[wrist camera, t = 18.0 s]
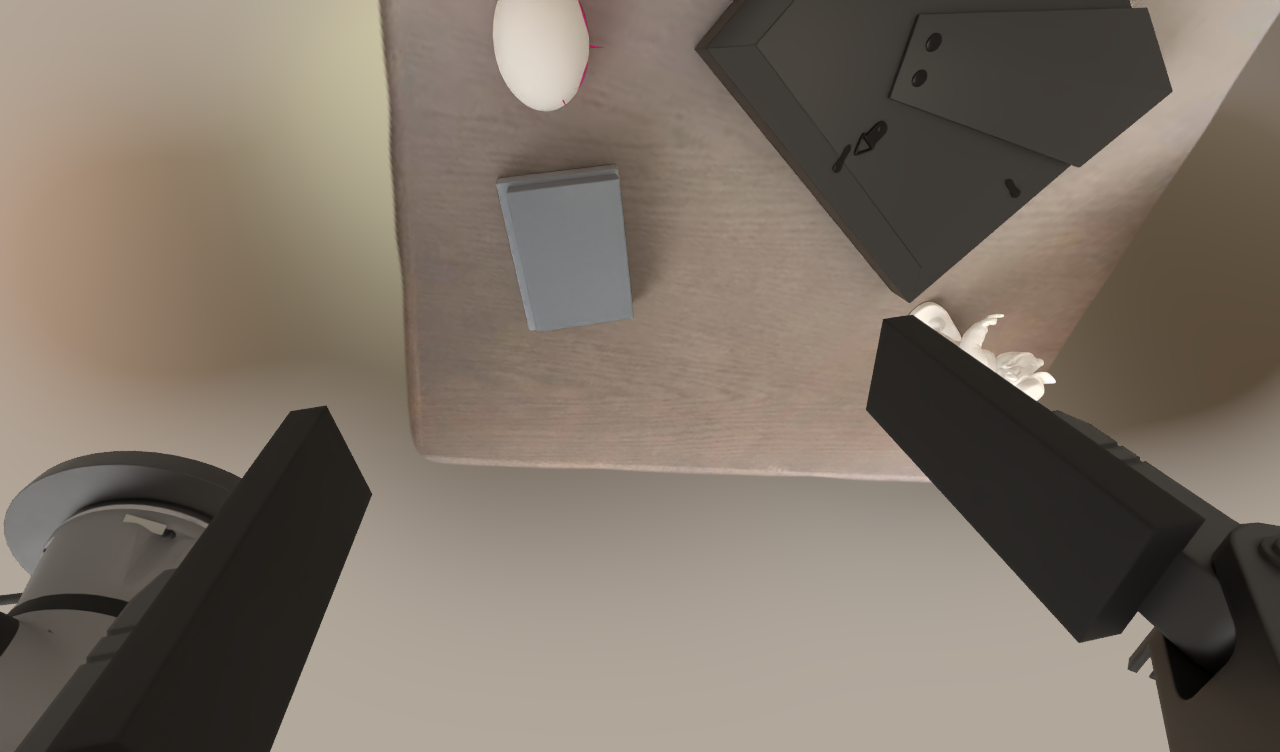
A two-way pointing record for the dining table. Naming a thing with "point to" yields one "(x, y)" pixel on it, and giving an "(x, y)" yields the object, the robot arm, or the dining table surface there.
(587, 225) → the grey books
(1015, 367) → the figurine
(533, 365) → the dining table surface
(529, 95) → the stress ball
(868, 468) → the dining table surface
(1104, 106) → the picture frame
